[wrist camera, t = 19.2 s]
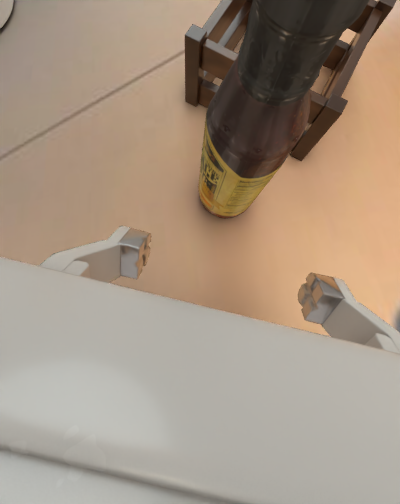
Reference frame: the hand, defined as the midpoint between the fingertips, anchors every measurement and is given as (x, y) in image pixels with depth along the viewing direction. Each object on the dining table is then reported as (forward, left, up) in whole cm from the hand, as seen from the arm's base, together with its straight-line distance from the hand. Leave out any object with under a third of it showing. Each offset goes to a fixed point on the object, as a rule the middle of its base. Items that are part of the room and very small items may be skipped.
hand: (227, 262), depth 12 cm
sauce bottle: (-3, +9, -13) cm, 16 cm away
